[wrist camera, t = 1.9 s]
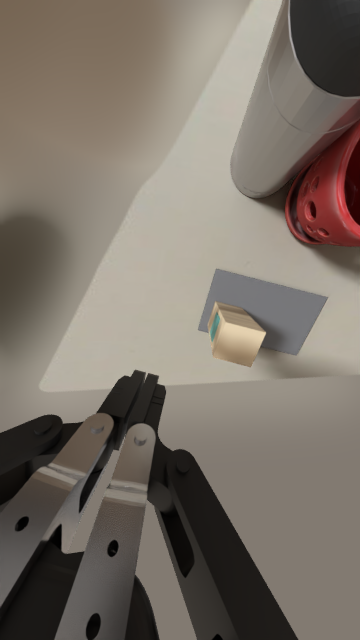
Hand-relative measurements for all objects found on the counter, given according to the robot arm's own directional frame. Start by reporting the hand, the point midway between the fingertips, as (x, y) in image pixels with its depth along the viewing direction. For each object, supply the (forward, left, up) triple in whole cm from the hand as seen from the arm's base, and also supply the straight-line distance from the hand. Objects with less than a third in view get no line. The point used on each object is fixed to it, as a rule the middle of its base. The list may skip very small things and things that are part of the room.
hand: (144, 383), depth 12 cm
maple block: (0, +9, -22) cm, 24 cm away
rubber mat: (-2, +15, -23) cm, 28 cm away
